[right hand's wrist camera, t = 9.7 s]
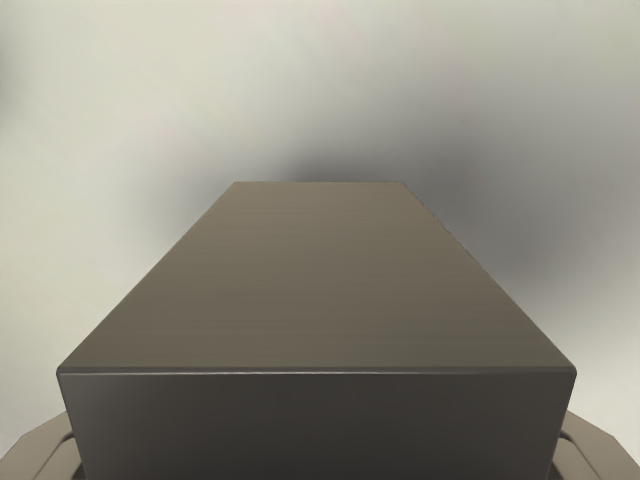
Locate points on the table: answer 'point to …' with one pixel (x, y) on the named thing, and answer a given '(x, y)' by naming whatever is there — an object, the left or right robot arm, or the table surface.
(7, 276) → the table surface
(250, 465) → the bar
